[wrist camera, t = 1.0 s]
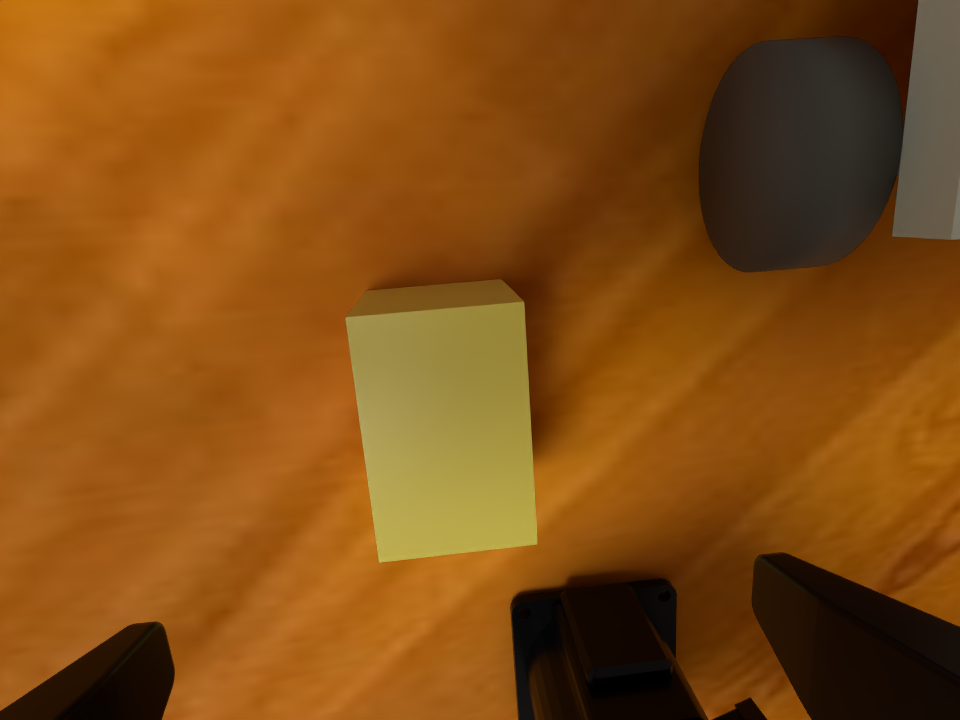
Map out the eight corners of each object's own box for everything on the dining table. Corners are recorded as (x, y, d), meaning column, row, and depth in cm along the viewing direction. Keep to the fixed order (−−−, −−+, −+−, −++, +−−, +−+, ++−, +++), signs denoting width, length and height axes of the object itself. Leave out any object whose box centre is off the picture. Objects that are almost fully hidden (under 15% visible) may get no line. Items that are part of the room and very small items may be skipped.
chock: (513, 467, 21) (537, 544, 16) (390, 480, 21) (379, 562, 16) (501, 278, 19) (524, 301, 14) (366, 290, 19) (345, 317, 14)
